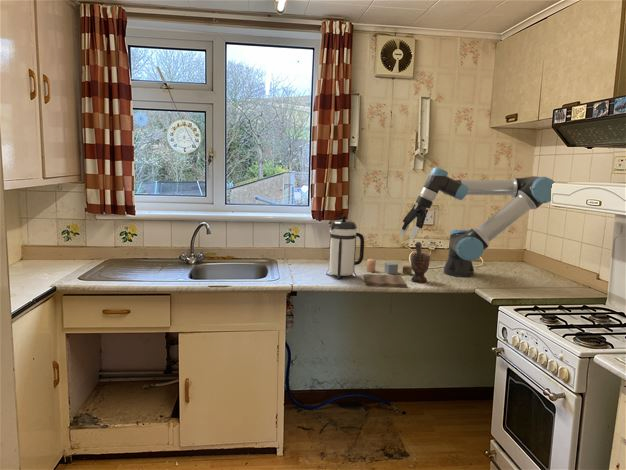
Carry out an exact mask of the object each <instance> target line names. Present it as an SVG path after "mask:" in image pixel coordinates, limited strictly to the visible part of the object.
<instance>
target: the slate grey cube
mask: <svg viewBox="0 0 626 470" xmlns="http://www.w3.org/2000/svg"><path fill="white" fill-rule="evenodd" d="M398 269H399V264H398V263H396V262H393V261H392V262H384V269H383V271H384V273H386V275H398V274H399V272H398Z"/></svg>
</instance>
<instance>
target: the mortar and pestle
mask: <svg viewBox="0 0 626 470" xmlns="http://www.w3.org/2000/svg"><path fill="white" fill-rule="evenodd" d="M422 248H423V245H422V243H421V242H420V241H416V242H415V251H416V252H413V253H411V255H410V256H411V257H410V258H411V259H410V266H412V272H414V275H413V276H412V277H411V278H410V281H413V282H414V283H419V284H424V283H427V281H428V279H427V277H426V276H425V273H427V271H428V270H429V267H430V261H431V254H430V253H424V252H422V251H423V250H422Z"/></svg>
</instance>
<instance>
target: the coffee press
mask: <svg viewBox="0 0 626 470" xmlns="http://www.w3.org/2000/svg"><path fill="white" fill-rule="evenodd" d="M347 218H348V217H347V215H344V214H343V215H342V216H341V219H335V220H333V221H332V222H331V224H330V225H329V226H330V228H329V233H330V234H329V236H330V237H329V238H330V239H329V257H328V260H329V261H328V270H327V271H326V273H325V274H326V275H327V276H329V275H330V274H332V275H335V276H337V277H336V280H338V281H339V280H340V279H341V277H344V276H352V277H353V278H354V279H355V278H357V273H356V272H355V266H358V265H360V264H361V263H362V261H363V259H364V256H365V255H364V253H365V238H364V237H365V236H364V235H363V234H362V233H360V232H357V229H358V226H357V223H355V221H352V220H349V219H347ZM357 237H358V239H359V241H360V243H359V244H360V245H359V257H358V259H357V260H356V247H357ZM328 272H329V273H328ZM353 274H354V275H355V276H354V275H353Z"/></svg>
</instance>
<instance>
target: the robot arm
mask: <svg viewBox="0 0 626 470" xmlns="http://www.w3.org/2000/svg"><path fill="white" fill-rule="evenodd" d="M553 183H556V182H555V181H554V180H553V179H552V178H550V177H547V176H535V175H534V176H525V177H514V178H512V179H510V180H509V179H453V178H451V177H449V176H448V171H447V170H445V169H442V168H440V167H438V166H434V167H433V168H432V169H431V172H430V173H429V174H428V176H427V178H426V180H425V183H424V185H423V187H422V188H421V189H420V193H419V195H418V196H417V199H416V200H415V203H416V204H414V205H413V206H412V207H411V209H410V210H409V212H408V213H407V214H406V216H405V217H404V218H403V220H402V222H403V225H402V226H401V228H400V230H399V232H398V236H400V237H401V238H404V237H405V235H406V233H407V231H408V230H409V227H410V224H411V223H412V222H413V221H414V220H415V219H416V222H415V225H414V226H413V228H412V230H411V232H410V234H409V236H408V238H410V239H411V240H415V239H416V238H417V237H416V236H417V235H418V232H419V231H420V229H423V227H424V225H425V221H426V217H427V215H428V212H429V209H431V207H432V205H433V201H434V202H435V200H436V198H437V195H438V193H439V192H442V193H443V195H446V196H449V197H452V198H454V199H455V200H459V201H462V200H464V198H465V197H466V196H510V197H512V199H511V200H510V201H509V202H508V203H507V204H506V205H504V206H503V207H502V208H501V209H499V210H498V211H497V212H496V213H495V214H493V215H492V216H491V217H489V218H488V219H487V220H485V221H483V223H482V224H480V225H479V226H478V227H471V228H470V229H468V230H467V229H451V230H450V233H449V246H448V254H447V255H448V257H447V260H446V262H445V264H444V266H443V273H444V274H445V275H446V274H447V275H449V276H453V277H461V278H462V277H463V278H464V277H465V278H467V277H474V275H475V268H474V265H473V261H476V260H478V259H479V258H480V257H482V255H483V253H484V251H485V250H486V249H488V248H489V246H490V242H491V241H492V240H493V239H494V238H496V237H498V235H500V234H501V233H502V232H503V231H505V230H506V229H507V228H509V227H510V226H511V225H513V224H514V223H515V222H517V221H518V220H519V219H520V218H521V217H523V216H524V215H525V214H526V213H528V211H531V210H536V209H538V208H539V207H541V206H542V205H543V204H547V203H550V202H552V201H551V188H552V184H553Z"/></svg>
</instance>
